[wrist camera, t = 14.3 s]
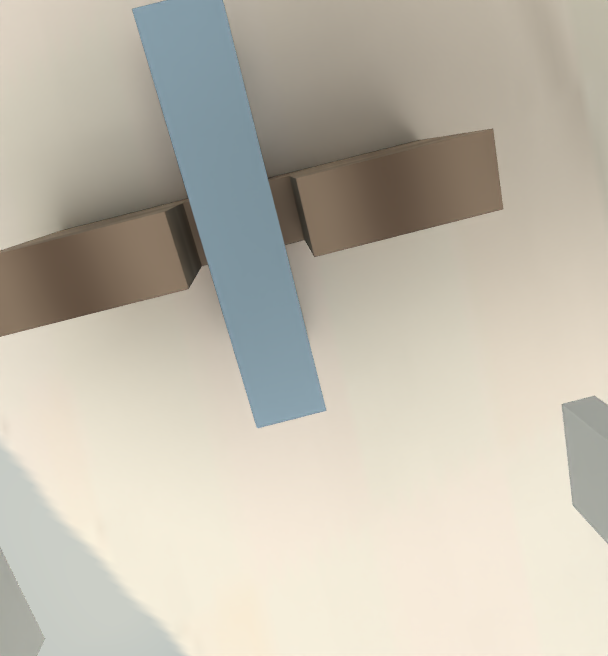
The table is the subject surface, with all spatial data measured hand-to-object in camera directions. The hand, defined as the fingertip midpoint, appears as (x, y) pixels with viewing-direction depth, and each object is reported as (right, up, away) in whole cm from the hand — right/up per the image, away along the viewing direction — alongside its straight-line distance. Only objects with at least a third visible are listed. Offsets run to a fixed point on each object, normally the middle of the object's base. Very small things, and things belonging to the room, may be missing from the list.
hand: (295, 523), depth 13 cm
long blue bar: (-3, +11, +18) cm, 21 cm away
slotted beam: (-3, +11, +18) cm, 21 cm away
